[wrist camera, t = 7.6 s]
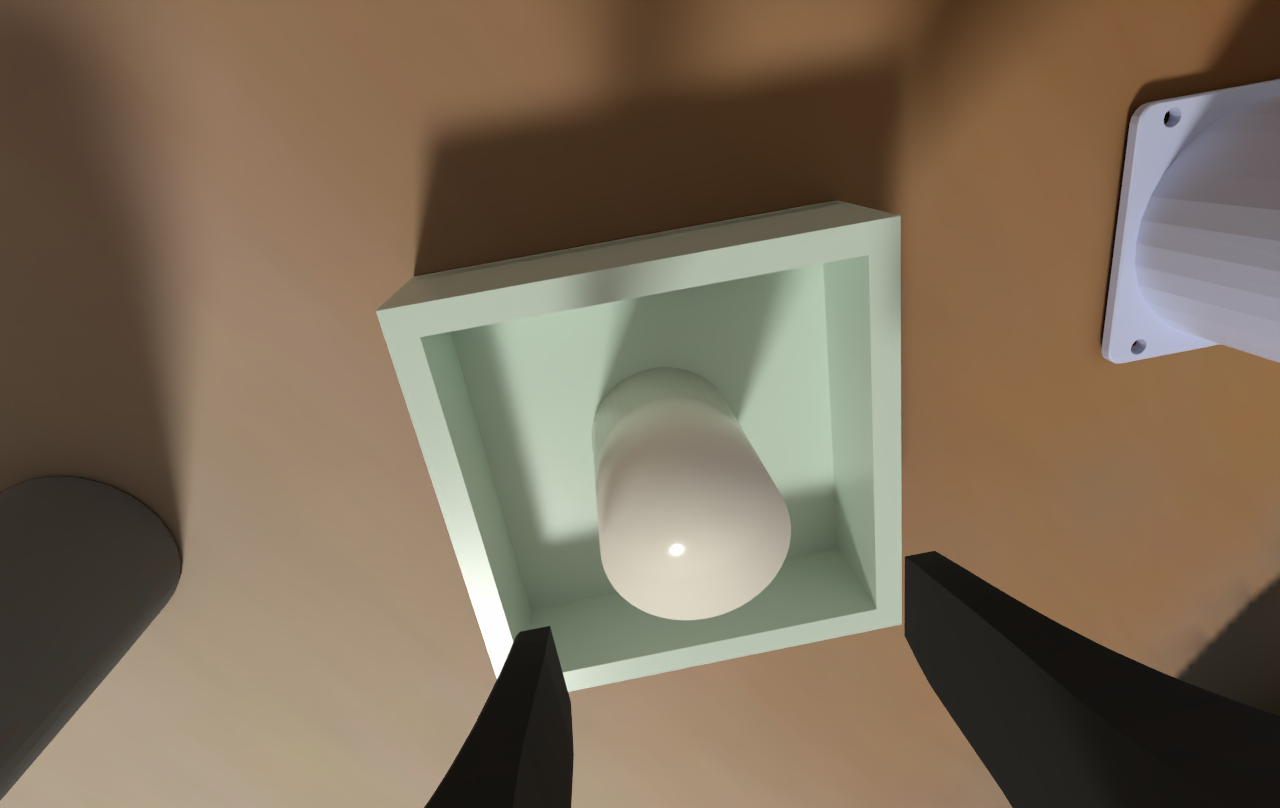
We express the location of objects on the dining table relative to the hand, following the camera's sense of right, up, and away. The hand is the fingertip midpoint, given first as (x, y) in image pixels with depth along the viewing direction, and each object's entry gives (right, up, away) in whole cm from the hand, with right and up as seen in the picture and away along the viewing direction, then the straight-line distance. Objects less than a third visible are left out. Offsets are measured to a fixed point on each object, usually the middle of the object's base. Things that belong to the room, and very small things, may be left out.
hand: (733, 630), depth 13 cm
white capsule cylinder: (-1, +3, +8) cm, 9 cm away
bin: (-1, +4, +9) cm, 9 cm away
